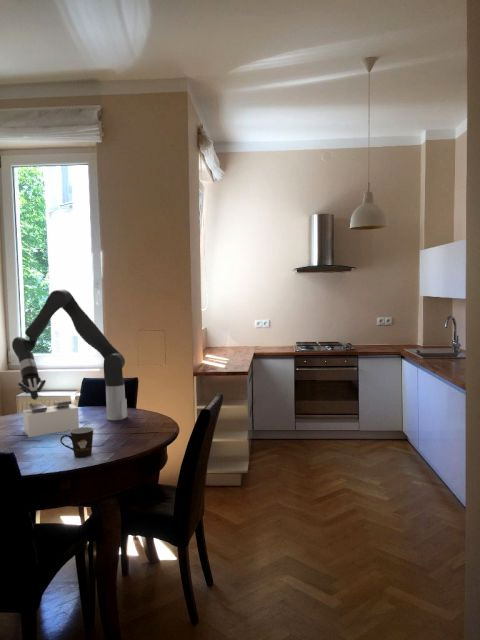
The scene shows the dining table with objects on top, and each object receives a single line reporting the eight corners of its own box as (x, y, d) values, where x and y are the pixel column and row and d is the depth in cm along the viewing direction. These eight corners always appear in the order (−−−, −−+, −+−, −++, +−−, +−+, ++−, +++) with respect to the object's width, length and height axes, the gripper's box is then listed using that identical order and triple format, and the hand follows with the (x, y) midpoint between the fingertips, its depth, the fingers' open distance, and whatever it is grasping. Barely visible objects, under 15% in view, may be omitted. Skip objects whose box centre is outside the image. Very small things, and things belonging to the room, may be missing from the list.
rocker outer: (42, 404, 224) (42, 401, 224) (46, 410, 218) (46, 407, 217) (29, 406, 221) (29, 403, 220) (32, 412, 214) (32, 409, 214)
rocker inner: (67, 403, 230) (66, 400, 230) (71, 404, 224) (71, 400, 224) (54, 405, 227) (53, 402, 227) (58, 406, 220) (57, 402, 220)
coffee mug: (97, 451, 189) (96, 427, 189) (89, 459, 181) (87, 433, 180) (70, 451, 190) (69, 427, 190) (59, 458, 182) (58, 433, 181)
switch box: (71, 423, 234) (71, 401, 233) (78, 428, 224) (77, 406, 224) (23, 431, 221) (22, 408, 221) (29, 437, 212) (27, 413, 211)
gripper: (14, 366, 227) (20, 396, 218) (43, 363, 234) (50, 392, 225) (13, 376, 232) (19, 405, 222) (42, 373, 239) (48, 401, 230)
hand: (35, 398), depth 224 cm, fingers closed
